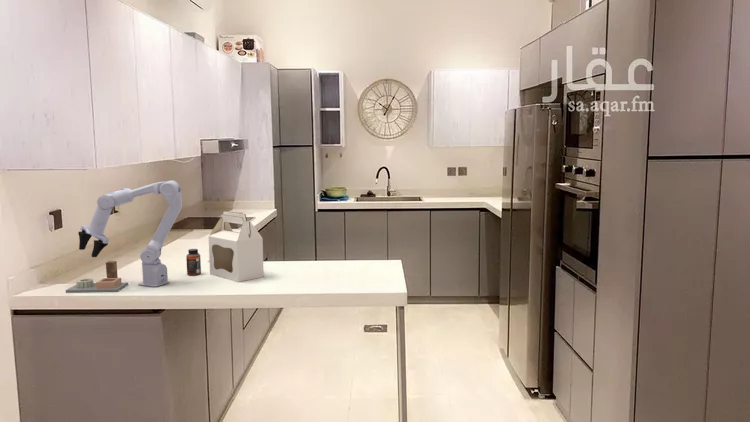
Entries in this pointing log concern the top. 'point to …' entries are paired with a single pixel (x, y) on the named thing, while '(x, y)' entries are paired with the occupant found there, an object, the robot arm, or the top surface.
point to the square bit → (111, 269)
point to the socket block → (97, 285)
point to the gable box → (235, 249)
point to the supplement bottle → (193, 262)
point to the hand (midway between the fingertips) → (87, 253)
